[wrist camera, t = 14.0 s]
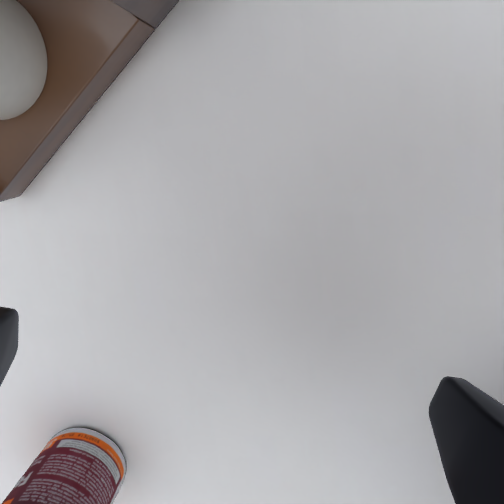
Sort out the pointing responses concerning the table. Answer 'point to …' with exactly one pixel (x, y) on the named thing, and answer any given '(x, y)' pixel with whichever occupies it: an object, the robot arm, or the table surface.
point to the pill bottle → (72, 471)
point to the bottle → (20, 60)
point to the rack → (72, 75)
